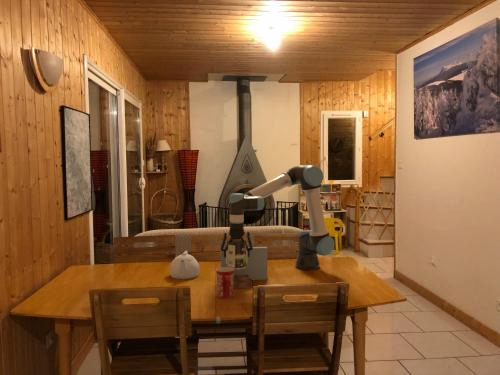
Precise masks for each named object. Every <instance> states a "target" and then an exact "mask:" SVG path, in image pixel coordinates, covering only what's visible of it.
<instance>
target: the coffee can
mask: <svg viewBox="0 0 500 375" xmlns="http://www.w3.org/2000/svg"><path fill="white" fill-rule="evenodd" d="M244 241H245V242H242V240H241V239H240V240H238V239H236V240H234V239H233V241H232V242H229V240H226V245H227V244H228V249H227V252H228V264H227V267H229V268H233V269H235V270H238V269H244V268H246V244H247V241H246V240H244Z"/></svg>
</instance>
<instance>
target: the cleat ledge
mask: <svg viewBox="0 0 500 375" xmlns="http://www.w3.org/2000/svg"><path fill="white" fill-rule="evenodd" d="M252 282H253V280H252V278H249V276H248V275H234V277H233V289H248V288H249V289H250V288H253V287H252V286H253V283H252Z"/></svg>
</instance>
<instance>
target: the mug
mask: <svg viewBox="0 0 500 375" xmlns="http://www.w3.org/2000/svg"><path fill="white" fill-rule="evenodd" d="M215 274H216V285H217V287H216V290H217V297H218V298H219V299H230V298H232V297H233V296H234V288H233V277H234V269H233V268H229V267H222V268H221V267H218V268H216V269H215Z"/></svg>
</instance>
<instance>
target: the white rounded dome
mask: <svg viewBox="0 0 500 375" xmlns="http://www.w3.org/2000/svg"><path fill="white" fill-rule="evenodd" d="M188 252H189V251H188V250H184V251H183V252H182V254H180V255H177V256H176V257H174V259H173V260H172V262H171V264H170V266H169V274H170V276H171V278H173V279H177V280H189V279H194V278H196V277H198V276H199V274H200V264H199V263H198V261H197V259H196V258H195V257H194V256H193V255H191V254H189V253H188Z"/></svg>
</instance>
